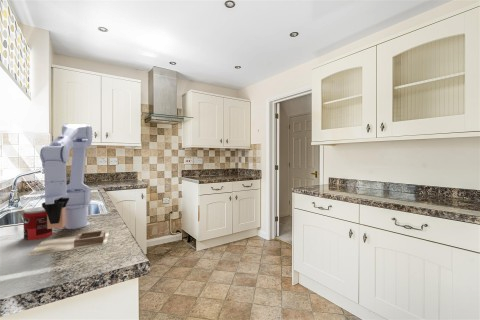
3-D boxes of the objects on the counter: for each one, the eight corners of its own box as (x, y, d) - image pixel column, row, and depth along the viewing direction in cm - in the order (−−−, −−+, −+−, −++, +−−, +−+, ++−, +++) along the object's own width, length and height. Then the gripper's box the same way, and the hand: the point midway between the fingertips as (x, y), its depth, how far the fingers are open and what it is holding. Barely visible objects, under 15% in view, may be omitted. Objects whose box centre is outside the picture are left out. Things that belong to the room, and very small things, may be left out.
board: (43, 243, 79) (43, 234, 79) (109, 234, 88) (109, 226, 88) (27, 259, 67) (26, 249, 67) (106, 247, 75) (105, 238, 75)
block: (51, 225, 78) (50, 208, 78) (65, 224, 80) (65, 206, 79) (47, 229, 74) (46, 210, 74) (62, 227, 76) (62, 209, 76)
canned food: (30, 236, 86) (29, 207, 85) (56, 234, 88) (55, 205, 88) (19, 244, 78) (18, 212, 78) (47, 241, 81) (46, 210, 81)
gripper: (47, 179, 81) (48, 217, 82) (31, 184, 68) (33, 229, 69) (71, 178, 84) (72, 215, 85) (61, 183, 71) (62, 226, 72)
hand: (56, 221), depth 77 cm, fingers closed on block, 4 cm apart
